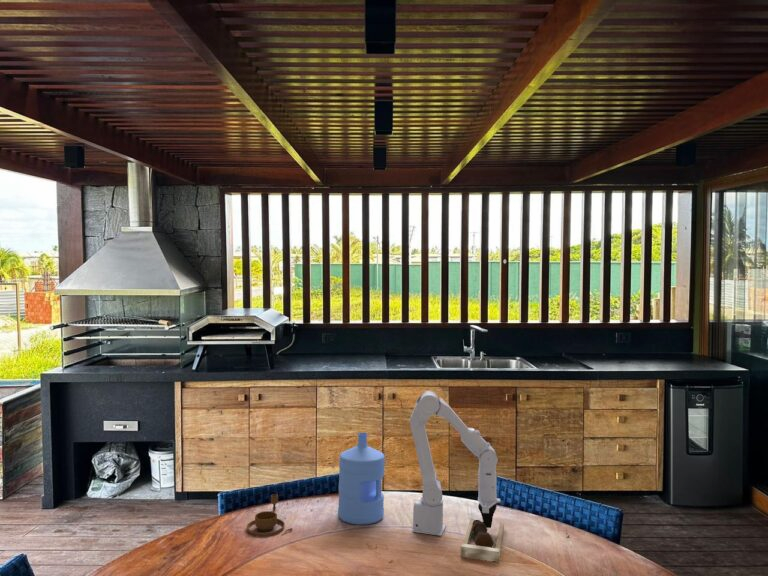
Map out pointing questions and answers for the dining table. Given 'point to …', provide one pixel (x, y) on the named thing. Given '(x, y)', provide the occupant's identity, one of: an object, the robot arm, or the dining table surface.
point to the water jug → (361, 484)
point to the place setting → (267, 521)
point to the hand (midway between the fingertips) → (487, 527)
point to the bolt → (481, 534)
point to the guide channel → (481, 551)
